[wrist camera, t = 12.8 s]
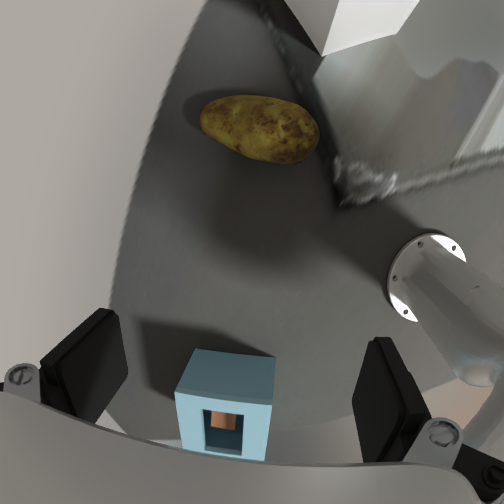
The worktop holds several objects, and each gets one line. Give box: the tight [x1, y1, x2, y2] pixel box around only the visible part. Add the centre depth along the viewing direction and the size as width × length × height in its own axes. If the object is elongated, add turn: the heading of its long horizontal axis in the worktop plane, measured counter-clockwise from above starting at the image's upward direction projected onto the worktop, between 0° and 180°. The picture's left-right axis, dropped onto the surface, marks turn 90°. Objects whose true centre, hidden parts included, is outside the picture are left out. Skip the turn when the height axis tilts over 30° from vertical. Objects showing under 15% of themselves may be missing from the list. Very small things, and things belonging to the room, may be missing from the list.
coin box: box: [174, 348, 276, 461], centre depth 41 cm, size 12×14×10 cm
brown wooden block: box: [211, 411, 238, 430], centre depth 42 cm, size 4×7×6 cm, turn 174°
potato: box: [199, 95, 319, 164], centre depth 31 cm, size 8×13×8 cm, turn 55°
